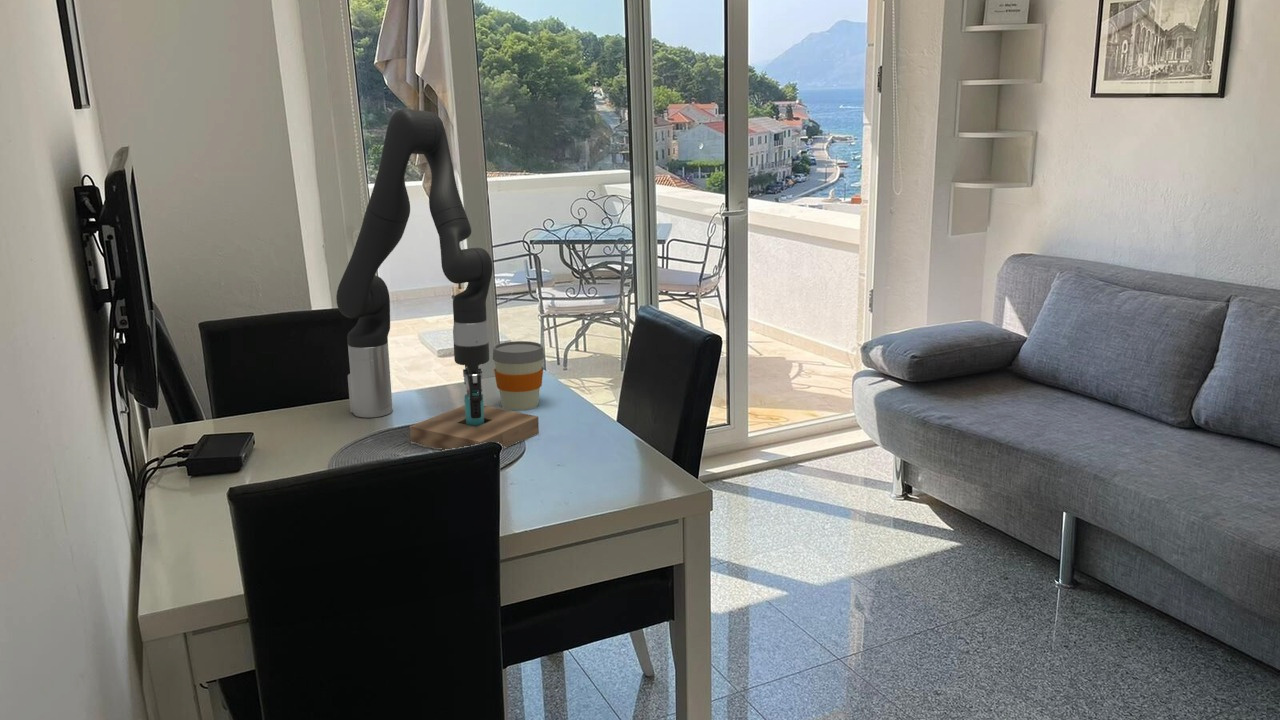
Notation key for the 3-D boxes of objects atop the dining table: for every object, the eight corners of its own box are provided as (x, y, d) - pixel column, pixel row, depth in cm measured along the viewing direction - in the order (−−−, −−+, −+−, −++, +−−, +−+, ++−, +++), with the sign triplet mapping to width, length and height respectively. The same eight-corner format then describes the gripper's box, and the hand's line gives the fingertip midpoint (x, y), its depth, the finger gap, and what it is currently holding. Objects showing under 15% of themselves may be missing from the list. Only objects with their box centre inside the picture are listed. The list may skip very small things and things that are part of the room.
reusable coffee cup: (525, 395, 238) (524, 338, 235) (555, 405, 230) (554, 347, 226) (484, 404, 230) (482, 346, 227) (513, 416, 221) (511, 355, 218)
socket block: (410, 443, 202) (409, 426, 201) (470, 419, 219) (470, 403, 218) (481, 460, 192) (480, 441, 191) (538, 433, 209) (538, 416, 208)
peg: (462, 439, 205) (460, 396, 202) (474, 434, 208) (472, 391, 206) (476, 442, 203) (474, 399, 200) (488, 437, 206) (486, 394, 204)
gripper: (491, 347, 194) (494, 420, 198) (485, 332, 208) (488, 401, 212) (455, 349, 192) (459, 423, 196) (451, 334, 206) (455, 404, 210)
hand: (474, 412), depth 204 cm, fingers open, 8 cm apart
